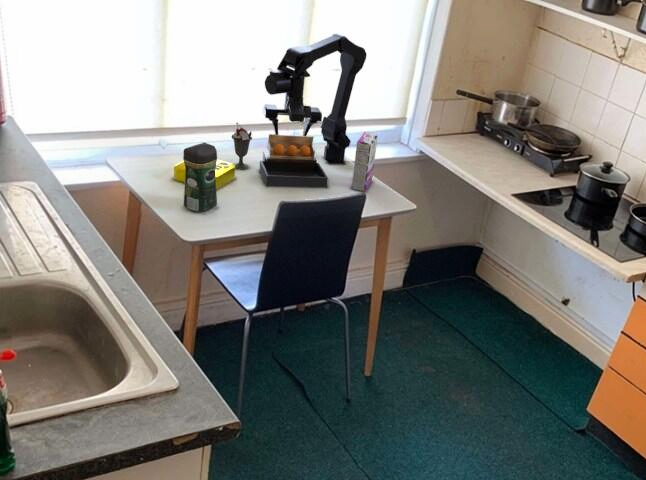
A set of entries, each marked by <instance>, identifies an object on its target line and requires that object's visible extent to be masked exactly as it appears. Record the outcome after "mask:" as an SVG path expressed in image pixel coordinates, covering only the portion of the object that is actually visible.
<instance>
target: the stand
mask: <svg viewBox="0 0 646 480" xmlns="http://www.w3.org/2000/svg"><path fill="white" fill-rule="evenodd" d="M262 161H270V162H298V163H318V160H317V159H316V156H314V160H303V159H277V158H270V157H269V153H268V150H263V151H262Z"/></svg>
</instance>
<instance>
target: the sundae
mask: <svg viewBox="0 0 646 480" xmlns="http://www.w3.org/2000/svg"><path fill="white" fill-rule="evenodd" d="M235 124H236V125H237V126H238V127H237V128H235V132H234V133H233V134H232V135H231V139H232V140H233V143H234V146H233V147H234V152H235V155H237V156H238V163H235V164H234V163H233V164H234V165H235V170H241V171H242V170H243V171H244V170H247V169H248V168H249V165H247V164H245V163H244V157H246V156H247V154H248V152H249V147H250V143H251V141H252V140H253V137H252V131H249V132H248V130H247V129H245V128H244V127H242V126H241V125H240V124H239V122H235ZM239 127H240V128H239Z"/></svg>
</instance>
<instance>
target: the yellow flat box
mask: <svg viewBox="0 0 646 480" xmlns="http://www.w3.org/2000/svg"><path fill="white" fill-rule="evenodd" d="M173 178H174V180H175V181H177V182H181V183H184V184H185V164H184V160H182V161H180V162H178V163H176V164H174V165H173ZM235 178H236V168H235V165H234V163H230V162H228V161H224V160H220V159H217V163H216V190H218V189H220V188H222V187H223V186H225V185H227V184H229V183H230V182H232V181H233V180H235Z"/></svg>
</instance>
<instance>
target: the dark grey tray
mask: <svg viewBox="0 0 646 480" xmlns="http://www.w3.org/2000/svg"><path fill="white" fill-rule="evenodd" d="M259 173H260V175H261V177H262V179H263V182H264V184H265V186H266V187H278V188H280V187H281V188H282V187H284V188H319V189H321V188H322V189H325V188H326V189H327V188H328V181H329V178H328V176H327V174H326V172H325V171H324V169H323V167H322V165H321V164H320V163H319V162H317V163H298V162H270V161H263V160H259Z"/></svg>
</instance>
